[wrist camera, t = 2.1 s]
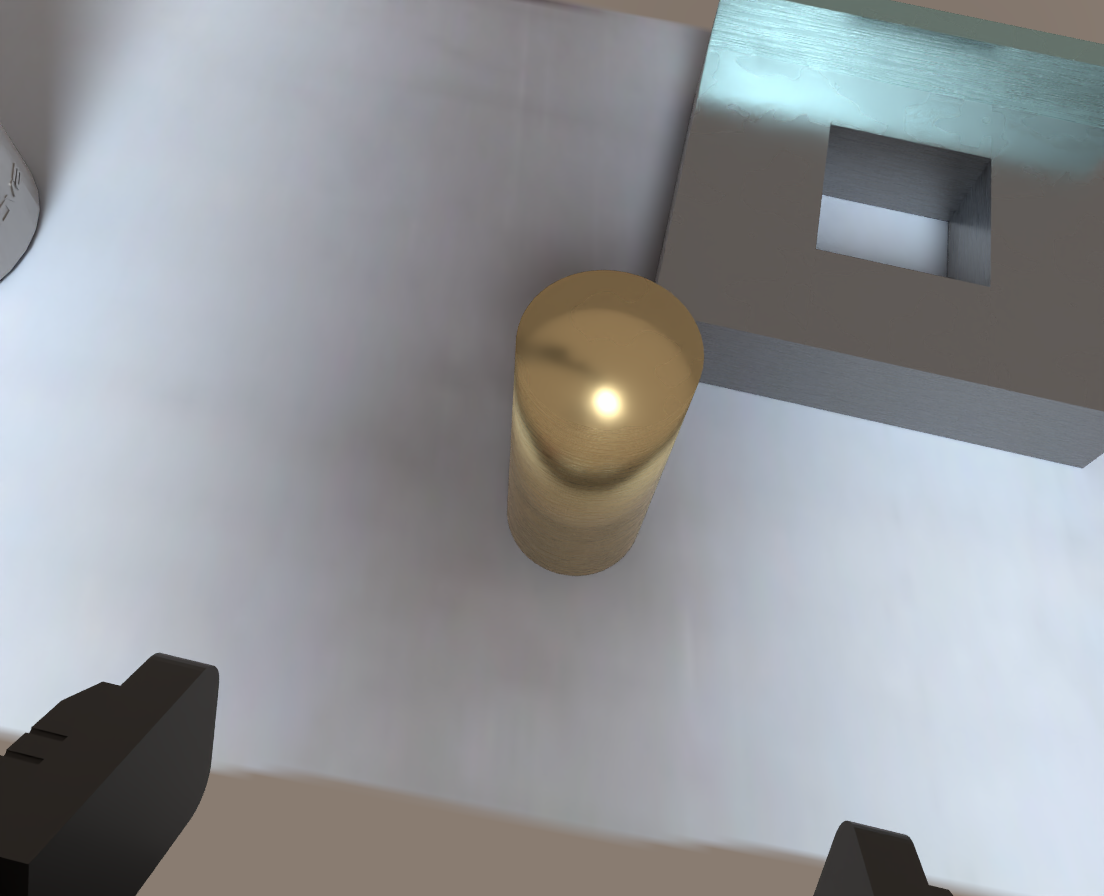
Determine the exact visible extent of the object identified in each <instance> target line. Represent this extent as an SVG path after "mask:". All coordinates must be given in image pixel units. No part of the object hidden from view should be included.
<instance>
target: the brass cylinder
mask: <svg viewBox="0 0 1104 896" xmlns="http://www.w3.org/2000/svg"><path fill="white" fill-rule="evenodd" d="M703 363H704V347H703V342H702V337H701V334H700V331H699V329H698V326H697V324H696V322H695V320H694V318H693V317H692V315H691V314H690V312H689V311H688V310H687V308H686V307H685V306H684V305H683V304H682V303H681V302H680V301H679V299H677V298H676V297H675V296H674V295H673V294H672V293H670V292H669V291H668V290H666V289H665V288H663V287H662V286H660V285H658V284H656V283H654V282H652V281H651V280H648V279H646V278H643V277H641V276H638V275H634V274H630V273H626V272H620V271H611V270H596V271H587V272H581V273H577V274H574V275H570V276H568V277H565V278H563V279H560V280H558V281H556V282H555V283H553V284H551V285H549V286H548V287H547V288H545V289H544V290H543V291H541V292H540V293H539V294H538V295H537V296H536V297H535V298H534V299H533V300H532V302H531V303H530V304H529V306H528V307H527V309H526V310H525V312H524V314H523V316H522V318H521V321H520V323H519V326H518V331H517V335H516V352H515V371H514V391H513V410H512V429H511V448H510V468H509V487H508V506H507V517H508V523H509V528H510V531H511V533H512V536H513V538H514V540H515V542H516V543H517V545H518V546H519V548H520V549H521V550H522V552H523V553H524V554H525V555H526V556H527V557H528V558H530V559H531V560H532V561H533V562H535V563H536V564H538V565H539V566H541V567H543V568H545V569H547V570H549V571H552V572H555V573H558V574H563V575H571V576H581V575H589V574H594V573H597V572H600V571H603V570H605V569H607V568H609V567H611V566H612V565H614V564H615V563H617V562H618V561H619V560H620V559H622V558H623V557H624V556H625V555H626V553H627V552H628V551H629V550H630V548H631V547H632V545H633V543H634V541H635V539H636V537H637V534H638V532H639V529H640V527H641V524H642V522H643V519H644V517H645V514H646V512H647V509H648V507H649V504H650V502H651V499H652V497H653V495H654V492H655V490H656V487H657V485H658V482H659V480H660V477H661V475H662V472H663V470H664V467H665V465H666V462H667V460H668V457H669V455H670V452H671V450H672V447H673V445H674V442H675V440H676V437H677V435H678V432H679V430H680V427H681V425H682V422H683V420H684V417H685V415H686V412H687V410H688V407H689V405H690V402H691V400H692V397H693V395H694V393H695V390H696V388H697V385H698V383H699V380H700V378H701V374H702V370H703Z"/></svg>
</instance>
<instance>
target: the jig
mask: <svg viewBox="0 0 1104 896" xmlns="http://www.w3.org/2000/svg"><path fill="white" fill-rule="evenodd" d="M822 194H823V195H827V196H832V197H837V198H841V199H846V200H851V201H855V202H860V203H865V204H869V205H874V206H878V207H883V208H888V209H892V210H897V211H902V212H906V213H911V214H916V215H920V216H925V217H929V218H934V219H939V220H943V221H948V222H949V234H948V262H947V278H946V277H942V276H937V275H932V274H928V273H923V272H919V271H914V270H910V269H905V268H900V267H896V266H891V265H887V264H882V263H877V262H873V261H868V260H864V259H859V258H855V257H850V256H845V255H841V254H836V253H832V252H827V251H823V250H818V249H816V241H817V233H818V224H819V216H820V207H821V199H822ZM655 283H656V284H658V285H660V286H662V287H663V288H665V289H666V290H668V291H669V292H670V293H672V294H673V295H674V296H675V297H676V298H677V299H679V301H680V302H681V303H682V304H683V305H684V306H685V307H686V308H687V310H688V311H689V312H690V314H691V315H692V317H693V318H694V320H695V322H696V324H697V326H698V329H699V331H700V334H701V337H702V342H703V347H704V363H703V370H702V374H701V378H700V380H699V382H703V383H708V384H712V385H716V386H721V387H725V388H730V389H734V390H738V391H743V392H747V393H752V394H756V395H761V396H765V397H769V398H774V399H778V400H783V401H787V402H792V403H796V404H800V405H805V406H809V407H814V408H818V409H823V410H827V411H831V412H836V413H840V414H845V415H849V416H854V417H858V418H862V419H867V420H871V421H876V422H880V423H885V424H889V425H893V426H898V427H902V428H907V429H911V430H916V431H920V432H924V433H929V434H933V435H938V436H942V437H947V438H951V439H955V440H960V441H964V442H969V443H973V444H978V445H982V446H986V447H991V448H995V449H1000V450H1004V451H1009V452H1013V453H1017V454H1022V455H1026V456H1031V457H1035V458H1040V459H1044V460H1048V461H1053V462H1057V463H1062V464H1066V465H1071V466H1075V467H1079V468H1084V467H1085V466H1087V465H1088V464H1089V463H1091V462H1092V461H1093V460H1095V459H1096V458H1097V457H1099V456H1100V455H1101V454H1103V453H1104V44H1099V43H1095V42H1090V41H1085V40H1080V39H1075V38H1071V37H1066V36H1061V35H1056V34H1051V33H1046V32H1042V31H1037V30H1032V29H1027V28H1022V27H1017V26H1013V25H1007V24H1003V23H998V22H993V21H988V20H983V19H978V18H974V17H969V16H964V15H959V14H954V13H949V12H945V11H939V10H935V9H930V8H925V7H920V6H915V5H911V4H906V3H901V2H896V1H891V0H719V4H718V8H717V12H716V16H715V20H714V24H713V27H712V31H711V35H710V39H709V43H708V47H707V51H706V55H705V59H704V62H703V66H702V70H701V74H700V78H699V82H698V86H697V90H696V94H695V98H694V103H693V107H692V112H691V116H690V121H689V126H688V130H687V135H686V140H685V144H684V149H683V154H682V158H681V163H680V167H679V172H678V177H677V181H676V186H675V191H674V195H673V200H672V205H671V209H670V214H669V218H668V223H667V228H666V232H665V237H664V242H663V246H662V251H661V256H660V260H659V265H658V269H657V274H656V279H655Z"/></svg>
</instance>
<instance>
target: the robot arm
mask: <svg viewBox="0 0 1104 896" xmlns="http://www.w3.org/2000/svg"><path fill="white" fill-rule="evenodd" d="M39 211H40V206H39V195H38V188H37V186H36V184H35V181H34V179H33V177H32V174H31V172H30V170H29V169H28V167H27V165H26V164H25V162H24V161H23V159H22V157H21V156H20V154H19V152H18V151H17V149H16V148H15V146H14V144H13V143H12V141H11V139H10V138H9V136H8V135H7V133H6V131H5V130H4V128H3V126H2V125H1V123H0V280H1V279H2V278H3V277H4V276H5V275H6V274H7V273H8V272H10V271H11V269H12V268H13V267H14V266H15V264H16V263H17V262H18V260H19V259H20V258H21V256H22V255H23V254H24V253H25V251H26V250H27V247H28V245H29V243H30V241H31V239H32V237H33V235H34V233H35V230H36V226H37V221H38V216H39ZM218 688H219V673H218V669H217V668H216V667H215V666H212V665H208V664H204V663H200V662H196V661H192V660H188V659H183V658H179V657H175V656H171V655H167V654H163V653H156V654H154V655H152V656H151V657H150V658H149V659H148V660H147V661H146V662H145V663H144V664H143V665H142V666H141V667H139V668H138V669H137V670H136V671H135V672H134V673H133V674H132V675H131V676H130V677H129V678H128V679H127V680H126V681H125V682H124V683H123V684H122V685H121V686H119V685H115V684H111V683H106V682H101V683H99V684H97V685H95V686H92V687H90V688H88V689H86V690H84V691H81V692H79V693H77V694H75V695H73V696H71V697H68V698H66V699H64V700H62V701H61V702H59V703H58V704H57V705H56V706H55V707H54V708H53V709H52V710H50V711H49V712H48V713H47V714H46V715H45V716H44V717H43V718H41V719H40V720H39V721H38V722H37V723H36V724H35V725H34V726H33V727H32V728H31V731H30V733H25V734H24V735H22V736H21V737H20V738H19V739H18V740H17V741H16V742H15V743H13V744H12V745H11V746H10V747H9V748H8V749H7V751H6V754H5V755H4V756H1V755H0V896H136V894H137V892H138V891H139V890H140V889H141V887H142V886H143V884H144V883H145V882H146V880H147V879H148V877H149V876H150V875H151V873H152V872H153V871H154V869H155V867H156V866H157V865H158V863H159V862H160V861H161V859H162V858H163V857H164V855H165V854H166V852H167V851H168V850H169V848H170V847H171V846H172V844H173V843H174V841H175V840H176V839H177V837H178V835H179V834H180V833H181V832H182V830H183V829H184V827H185V826H186V825H187V823H188V822H189V820H190V819H191V817H192V816H193V814H194V812H195V811H196V809H197V807H198V805H199V803H200V801H201V798H202V796H203V793H204V791H205V788H206V785H207V781H208V777H209V773H210V768H211V760H212V749H213V739H214V729H215V719H216V709H217V698H218ZM813 896H953V895H952V893H951V892H950V891H949V890H947V889H943V888H939V887H934V886H930V885H928V882H927V879H926V876H925V874H924V871H923V868H922V866H921V863H920V860H919V858H918V855H917V852H916V849H915V847H914V844H913V842H912V840H911V839H910V837H908V836H907V835H904V834H900V833H896V832H892V831H888V830H884V829H880V828H875V827H871V826H867V825H863V824H859V823H855V822H851V821H844V822H843V823H842V824H841V825H840V826H839V828H838V830H837V832H836V835H835V837H834V840H833V843H832V845H831V848H830V851H829V854H828V857H827V859H826V862H825V865H824V868H823V870H822V874H821V876H820V879H819V882H818V884H817V887H816V890H815V893H814V895H813Z"/></svg>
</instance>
